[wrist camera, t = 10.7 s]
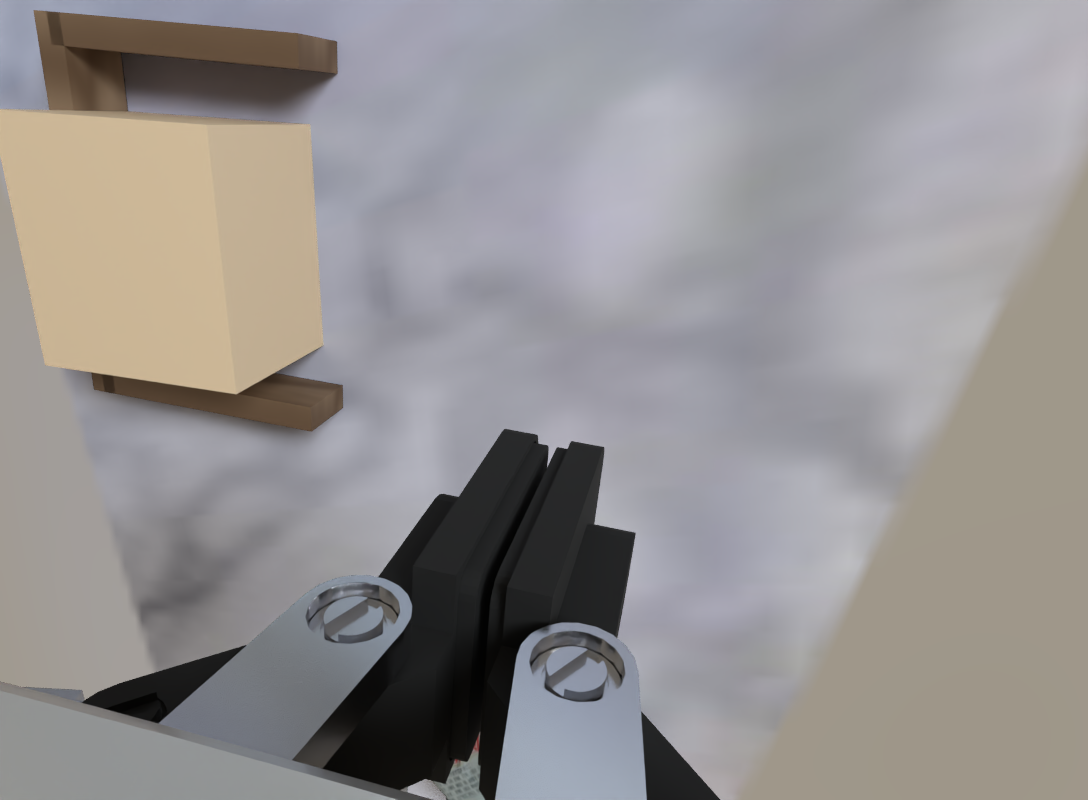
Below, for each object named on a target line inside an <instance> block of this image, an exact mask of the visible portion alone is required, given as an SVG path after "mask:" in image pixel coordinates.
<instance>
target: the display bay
mask: <svg viewBox="0 0 1088 800" xmlns="http://www.w3.org/2000/svg"><path fill="white" fill-rule="evenodd" d="M34 16H35V22H36V28H37V35H38V41H39V47H40V54H41V60H42V66H43V72H44V79H45V85H46V91H47V97H48V104H49V110H74V111H127V112H128V109H127V100H126V92H125V84H124V76H123V67H122V59H121V53H131V54H141V55H151V56H162V57H172V58H182V59H192V60H203V61H213V62H223V63H234V64H244V65H254V66H264V67H275V68H285V69H295V70H305V71H316V72H326V73H336V74H337V42H336V41H332V40H327V39H322V38H317V37H313V36H308V35H303V34H298V33H288V32H276V31H265V30H254V29H242V28H231V27H219V26H208V25H197V24H185V23H174V22H162V21H151V20H140V19H128V18H117V17H105V16H94V15H83V14H71V13H60V12H48V11H37V10H34ZM91 373H92V379H93V385H94V390H99V391H104V392H109V393H115V394H120V395H125V396H130V397H135V398H141V399H146V400H151V401H156V402H161V403H166V404H172V405H177V406H182V407H187V408H192V409H198V410H203V411H208V412H213V413H218V414H224V415H229V416H234V417H239V418H244V419H250V420H255V421H260V422H265V423H270V424H275V425H281V426H286V427H291V428H296V429H301V430H307V431H313V430H314V429H316V428H317V427H318V426H320V425H321V424H322V423H323V422H325V421H326V420H327V419H329V418H330V417H331V416H333V415H334V414H335V413H337V412H338V411H339V410H341V409H342V408H343V385H338V384H332V383H326V382H321V381H315V380H310V379H304V378H299V377H293V376H287V375H282V374H276V373H273V374H271V375H270V376H268V377H266V378H264V379H263V380H261V381H259V382H257V383H255V384H254V385H252V386H250V387H248V388H247V389H245V390H243V391H241V392H239V393H238V394H231V393H225V392H218V391H212V390H205V389H198V388H192V387H185V386H179V385H172V384H165V383H159V382H152V381H146V380H139V379H133V378H126V377H119V376H113V375H106V374H100V373H93V372H91Z"/></svg>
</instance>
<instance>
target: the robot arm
mask: <svg viewBox="0 0 1088 800" xmlns="http://www.w3.org/2000/svg"><path fill="white" fill-rule="evenodd" d="M603 458H604V447H600V446H595V445H589V444H584V443H578V442H573V441H571V443H570V445H569V447H568V449H564V448H558V447H557V449H556V451H555V453H554V455H553V457H552V459H551V461H550V463H549V465H548V467H547V461H548V446H547V445H542V444H538V436H537V435H535V434H530V433H524V432H519V431H513V430H508V429H504V430H503V431H502V433H501V434H500V436H499V437H498V439H497V440H496V442H495V443H494V445H493V446H492V448H491V449H490V451H489V452H488V454H487V455H486V457H485V458H484V460H483V461H482V463H481V464H480V466H479V467H478V469H477V470H476V472H475V473H474V475H473V476H472V478H471V479H470V481H469V482H468V484H467V485H466V487H465V488H464V490H463V491H462V493H461V494H460V496H459V497H456V496H451V495H446V494H439V495H438V496H437V497H436V498H435V500H434V501H433V502H432V504H431V505H430V506H429V508H428V509H427V511H426V512H425V513H424V515H423V516H422V517H421V519H420V520H419V522H418V523H417V524H416V526H415V527H414V529H413V530H412V531H411V533H410V534H409V535H408V537H407V538H406V540H405V541H404V542H403V544H402V545H401V546H400V548H399V549H398V551H397V552H396V553H395V555H394V556H393V558H392V559H391V560H390V562H389V563H388V564H387V566H386V567H385V569H384V570H383V571H382V573H381V574H380V575H379V577H374V576H370V575H351V576H346V577H340V578H335V579H332V580H330V581H327V582H324V583H322V584H319V585H318V586H316V587H315V588H313V589H312V590H310V591H309V592H307V593H306V594H305V595H303V596H302V597H301V598H300V599H299V600H298V601H297V602H296V603H294V604H293V605H292V606H291V607H290V608H289V609H288V610H286V611H285V612H284V613H283V614H282V615H281V616H280V617H279V618H277V619H276V620H275V621H274V622H273V623H272V624H271V625H269V626H268V627H267V628H266V629H265V630H264V631H263V632H262V633H260V634H259V635H258V636H257V637H256V638H255V639H254V640H252V641H251V642H250V643H249V644H248V645H245V646H242V647H239V648H235V649H232V650H229V651H225V652H222V653H219V654H215V655H212V656H209V657H205V658H202V659H199V660H195V661H192V662H189V663H185V664H182V665H179V666H175V667H172V668H169V669H165V670H162V671H159V672H156V673H152V674H149V675H146V676H142V677H139V678H136V679H132V680H129V681H126V682H123V683H119V684H117V685H114V686H112V687H110V688H107V689H104V690H102V691H99V692H97V693H96V694H94V695H93V696H91V697H89V698H88V699H86V700H84V696H83V691H82V690H71V689H52V688H32V687H19V686H16V685H12V684H8V683H4V682H0V800H432V799H428V798H425V797H421V796H418V795H414V794H411V793H407V790H408V786H410V785H413V784H415V783H417V782H419V781H422V780H424V779H428V780H432V781H435V782H439V783H443V784H446V781H447V779H448V776H449V774H450V771H451V769H452V766H453V764H454V761H455V759H456V760H460V761H464V762H468V760H469V758H470V756H471V754H472V751H473V748H474V746H475V743H476V741H477V738H478V735H479V733H480V740H479V752H478V765H479V766H481V767H480V779H479V790H480V792H481V794H482V796H483V797H484V799H485V800H720V799H719V798H718V797H717V796H716V795H715V793H714V792H713V791H712V790H711V789H710V788H709V787H708V786H707V784H706V783H705V782H704V781H703V780H702V779H701V778H700V777H699V775H698V774H697V773H696V772H695V771H694V770H693V769H692V768H691V767H690V765H689V764H688V763H687V762H686V761H685V760H684V759H683V758H682V756H681V755H680V754H679V753H678V752H677V751H676V750H675V749H674V747H673V746H672V745H671V744H670V743H669V742H668V741H667V740H666V739H665V737H664V736H663V735H662V734H661V733H660V732H659V731H658V730H657V728H656V727H655V726H654V725H653V724H652V723H651V722H650V721H649V719H648V718H647V717H646V716H645V715H644V714H643V713H642V712H641V704H640V689H639V674H638V669H637V665H636V661H635V658H634V656H633V655H632V654H631V652H630V651H629V649H628V648H627V646H626V645H625V644H624V643H622V642H621V641H620V640H619V639H617V636H618V631H619V626H620V620H621V615H622V609H623V604H624V598H625V593H626V587H627V581H628V576H629V570H630V564H631V558H632V552H633V546H634V540H635V533H634V532H629V531H624V530H619V529H614V528H609V527H604V526H599V525H594V522H595V515H596V508H597V500H598V493H599V486H600V479H601V472H602V465H603Z"/></svg>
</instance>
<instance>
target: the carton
mask: <svg viewBox="0 0 1088 800" xmlns="http://www.w3.org/2000/svg"><path fill="white" fill-rule="evenodd" d="M0 156H1V161H2V166H3V170H4V175H5V180H6V184H7V189H8V194H9V198H10V203H11V208H12V212H13V217H14V222H15V226H16V231H17V236H18V240H19V245H20V250H21V254H22V259H23V264H24V268H25V273H26V278H27V282H28V287H29V292H30V296H31V301H32V305H33V310H34V315H35V320H36V324H37V329H38V334H39V338H40V343H41V347H42V352H43V357H44V361H45V365H47V366H54V367H60V368H67V369H73V370H80V371H86V372H93V373H100V374H106V375H113V376H119V377H126V378H133V379H139V380H146V381H152V382H159V383H165V384H172V385H179V386H185V387H192V388H198V389H205V390H212V391H218V392H225V393H231V394H238V393H239V392H241V391H243V390H245V389H247V388H248V387H250V386H252V385H254V384H255V383H257V382H259V381H261V380H263V379H264V378H266V377H268V376H270V375H271V374H273V373H275V372H277V371H279V370H280V369H282V368H284V367H286V366H288V365H289V364H291V363H293V362H295V361H296V360H298V359H300V358H302V357H304V356H305V355H307V354H309V353H311V352H312V351H314V350H316V349H318V348H320V347H321V346H323V331H322V314H321V298H320V281H319V264H318V248H317V231H316V214H315V197H314V181H313V164H312V147H311V131H310V124H297V123H283V122H269V121H255V120H241V119H227V118H213V117H199V116H185V115H171V114H157V113H143V112H127V111H74V110H21V109H0Z"/></svg>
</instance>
